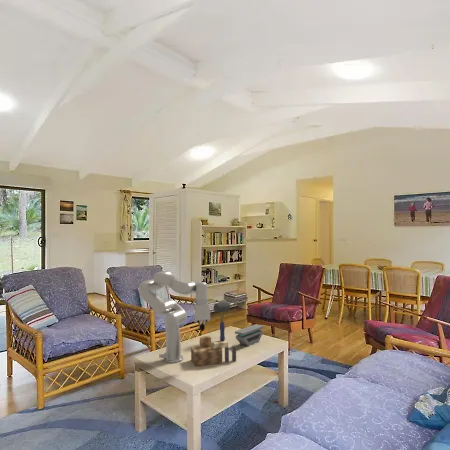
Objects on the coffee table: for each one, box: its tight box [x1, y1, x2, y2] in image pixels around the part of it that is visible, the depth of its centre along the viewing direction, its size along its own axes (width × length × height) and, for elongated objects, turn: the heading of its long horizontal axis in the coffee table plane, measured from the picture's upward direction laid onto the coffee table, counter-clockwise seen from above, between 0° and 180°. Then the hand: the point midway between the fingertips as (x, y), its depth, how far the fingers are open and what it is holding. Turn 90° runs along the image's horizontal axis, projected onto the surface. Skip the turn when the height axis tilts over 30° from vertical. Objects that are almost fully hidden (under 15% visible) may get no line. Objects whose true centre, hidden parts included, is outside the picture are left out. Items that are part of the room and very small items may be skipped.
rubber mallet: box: [213, 301, 231, 342], centre depth 264 cm, size 12×8×30 cm, turn 131°
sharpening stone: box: [234, 324, 265, 347], centre depth 257 cm, size 25×8×11 cm, turn 137°
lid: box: [190, 335, 223, 354], centre depth 222 cm, size 18×12×8 cm, turn 107°
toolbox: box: [190, 344, 237, 368], centre depth 223 cm, size 28×12×10 cm, turn 107°
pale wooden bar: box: [210, 340, 229, 349], centre depth 220 cm, size 11×3×4 cm, turn 107°
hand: (202, 330), depth 216 cm, fingers closed
